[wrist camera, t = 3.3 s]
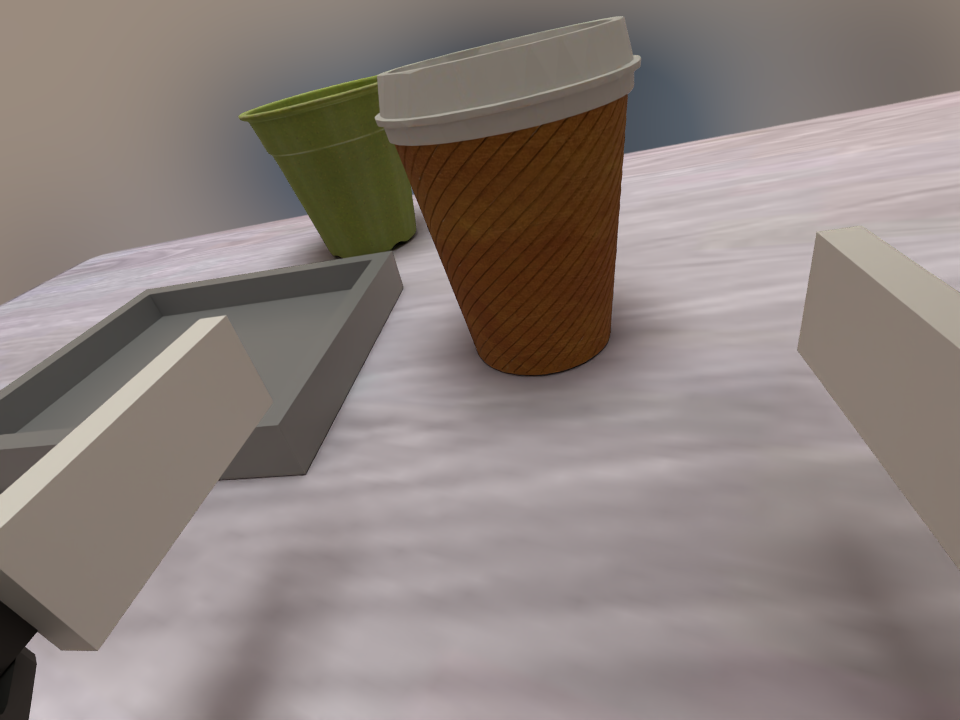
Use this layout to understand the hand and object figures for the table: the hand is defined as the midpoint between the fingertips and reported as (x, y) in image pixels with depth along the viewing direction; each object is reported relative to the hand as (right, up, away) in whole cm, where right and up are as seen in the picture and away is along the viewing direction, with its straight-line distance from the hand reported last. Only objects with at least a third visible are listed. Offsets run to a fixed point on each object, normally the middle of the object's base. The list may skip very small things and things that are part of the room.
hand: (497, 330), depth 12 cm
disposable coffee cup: (+3, 0, +12) cm, 13 cm away
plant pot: (-9, +9, +30) cm, 32 cm away
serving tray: (-15, -1, +16) cm, 22 cm away
